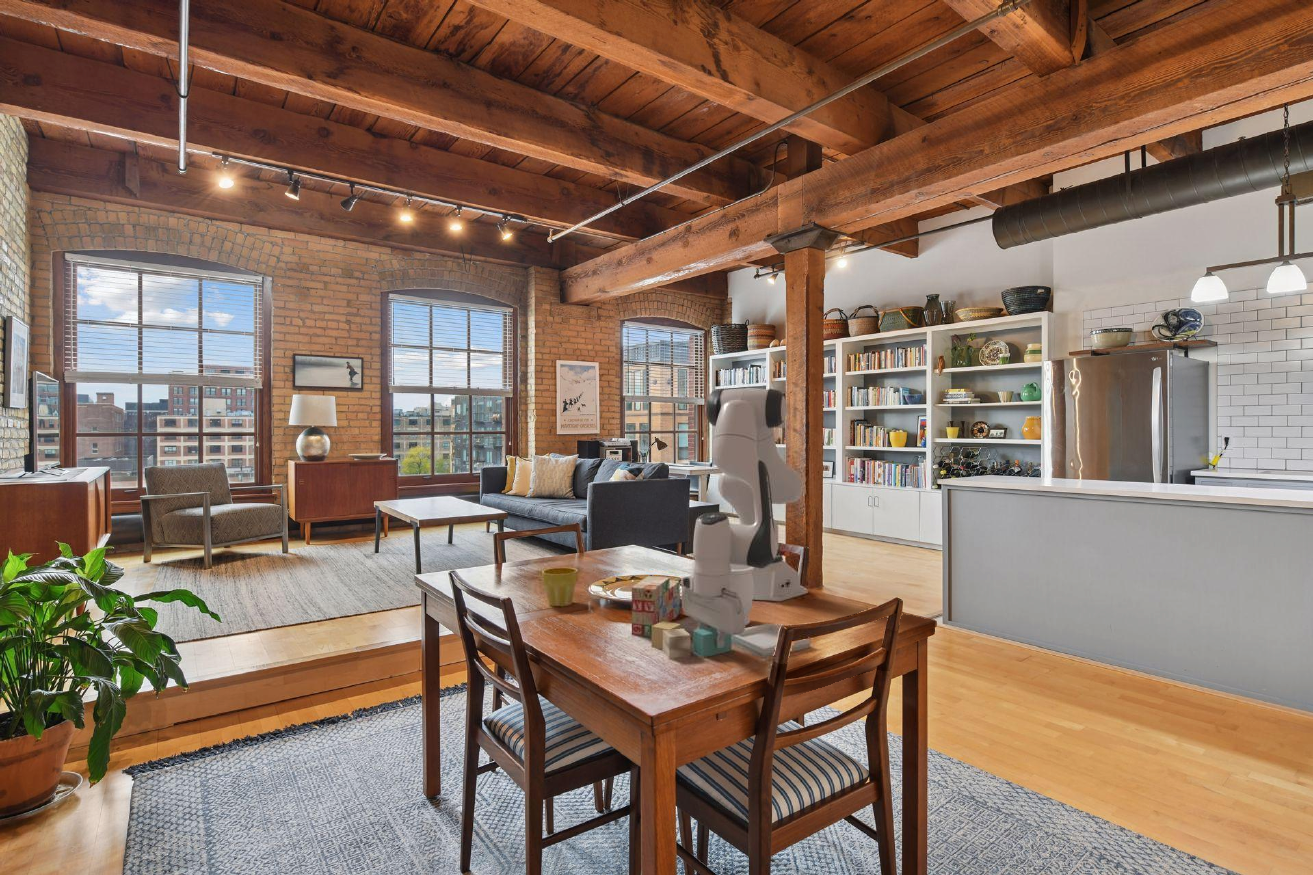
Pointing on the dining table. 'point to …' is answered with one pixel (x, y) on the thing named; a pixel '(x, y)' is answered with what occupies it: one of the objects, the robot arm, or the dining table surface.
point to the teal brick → (709, 642)
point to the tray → (763, 640)
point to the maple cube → (676, 643)
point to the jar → (743, 586)
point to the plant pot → (560, 585)
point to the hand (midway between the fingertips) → (712, 643)
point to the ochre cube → (661, 632)
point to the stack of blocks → (654, 603)
